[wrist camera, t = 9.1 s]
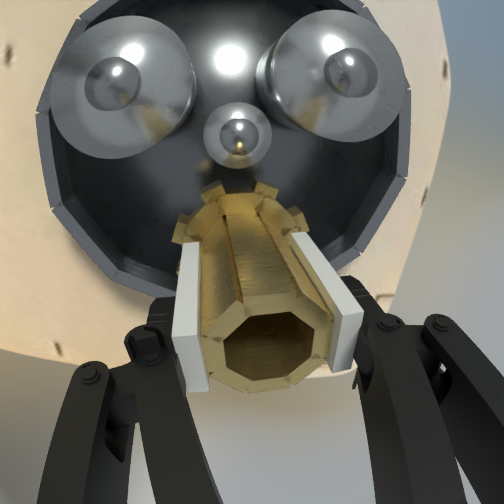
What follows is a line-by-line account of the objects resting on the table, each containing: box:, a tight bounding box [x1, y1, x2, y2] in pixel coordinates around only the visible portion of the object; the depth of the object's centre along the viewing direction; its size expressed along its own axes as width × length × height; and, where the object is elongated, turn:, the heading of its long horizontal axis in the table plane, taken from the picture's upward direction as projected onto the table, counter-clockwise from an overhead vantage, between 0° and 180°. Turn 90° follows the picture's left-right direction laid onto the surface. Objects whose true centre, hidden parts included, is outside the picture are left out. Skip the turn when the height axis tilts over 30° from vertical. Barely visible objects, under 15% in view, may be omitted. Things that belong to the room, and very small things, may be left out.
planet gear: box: [171, 178, 334, 393], centre depth 14 cm, size 8×8×10 cm
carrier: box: [35, 0, 411, 298], centre depth 15 cm, size 24×24×8 cm
